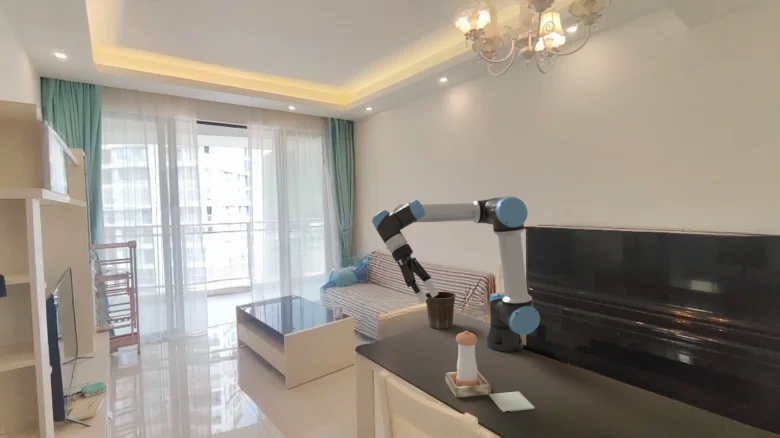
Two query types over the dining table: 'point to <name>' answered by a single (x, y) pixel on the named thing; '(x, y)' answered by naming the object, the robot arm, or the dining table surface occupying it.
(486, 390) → the birch surround
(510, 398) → the sage pad
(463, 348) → the pepper shaker
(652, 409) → the dining table surface
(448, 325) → the plant pot
